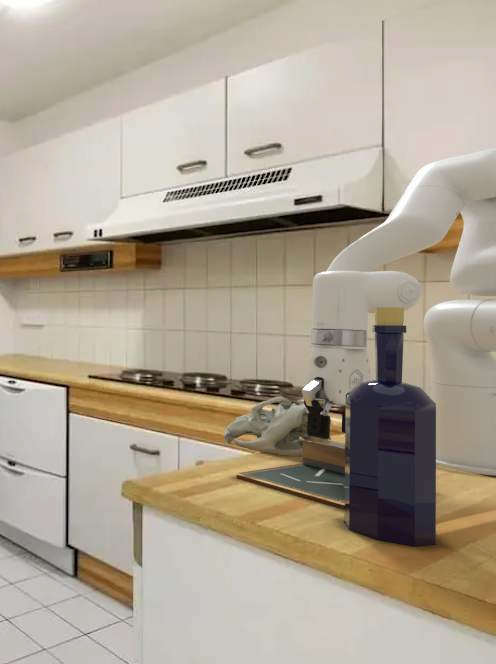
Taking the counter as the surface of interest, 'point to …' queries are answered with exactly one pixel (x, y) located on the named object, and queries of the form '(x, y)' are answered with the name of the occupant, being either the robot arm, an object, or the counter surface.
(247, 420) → the animal skull
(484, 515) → the counter surface
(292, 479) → the chalkboard
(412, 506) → the bottle
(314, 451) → the eraser
